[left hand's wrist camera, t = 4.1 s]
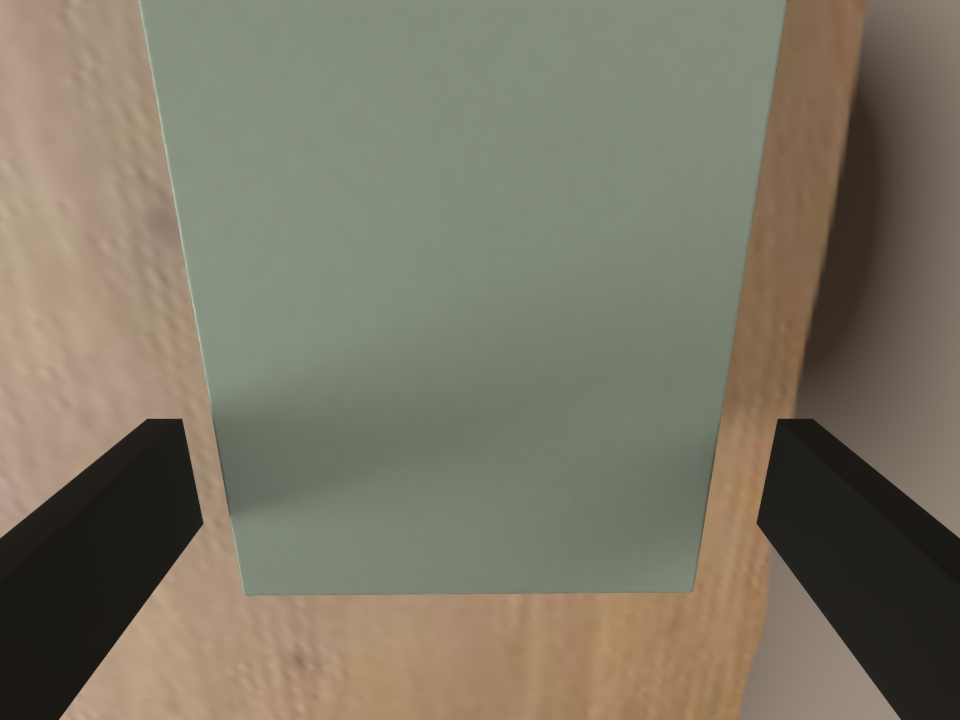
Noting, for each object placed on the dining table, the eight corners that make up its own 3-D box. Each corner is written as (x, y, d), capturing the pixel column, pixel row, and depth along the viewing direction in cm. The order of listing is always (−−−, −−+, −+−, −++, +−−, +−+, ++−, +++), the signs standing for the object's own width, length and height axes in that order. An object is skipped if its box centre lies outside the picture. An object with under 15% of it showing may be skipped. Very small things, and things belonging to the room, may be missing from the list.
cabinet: (257, -197, 15) (36, -554, 8) (675, -195, 15) (877, -544, 8) (323, 441, 22) (242, 597, 14) (617, 440, 22) (694, 594, 14)
